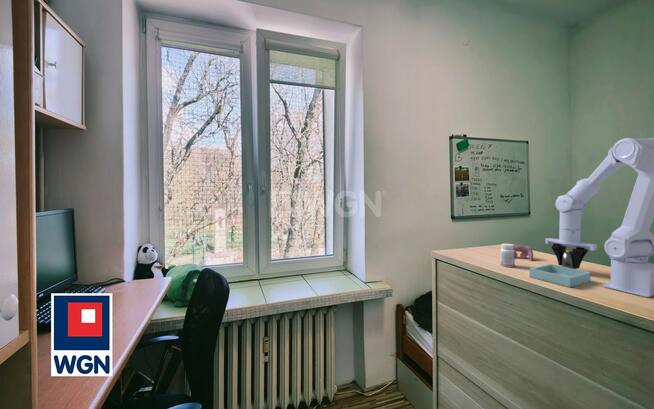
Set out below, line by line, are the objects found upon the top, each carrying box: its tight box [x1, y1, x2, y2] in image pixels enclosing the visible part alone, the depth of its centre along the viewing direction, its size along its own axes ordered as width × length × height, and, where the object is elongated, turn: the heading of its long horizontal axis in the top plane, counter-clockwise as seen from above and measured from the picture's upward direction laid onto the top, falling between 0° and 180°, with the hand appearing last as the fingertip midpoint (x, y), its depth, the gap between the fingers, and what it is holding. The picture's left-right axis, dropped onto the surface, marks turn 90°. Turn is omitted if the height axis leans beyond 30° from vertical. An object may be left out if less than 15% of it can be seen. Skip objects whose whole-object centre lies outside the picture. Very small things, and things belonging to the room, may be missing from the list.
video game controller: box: [513, 243, 534, 261], centre depth 120 cm, size 10×5×7 cm, turn 58°
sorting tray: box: [529, 263, 592, 289], centre depth 93 cm, size 12×12×3 cm
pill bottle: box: [499, 243, 516, 268], centre depth 109 cm, size 5×5×8 cm
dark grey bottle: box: [561, 249, 575, 269], centre depth 100 cm, size 4×4×8 cm
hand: (568, 266), depth 100 cm, fingers closed on dark grey bottle, 4 cm apart
